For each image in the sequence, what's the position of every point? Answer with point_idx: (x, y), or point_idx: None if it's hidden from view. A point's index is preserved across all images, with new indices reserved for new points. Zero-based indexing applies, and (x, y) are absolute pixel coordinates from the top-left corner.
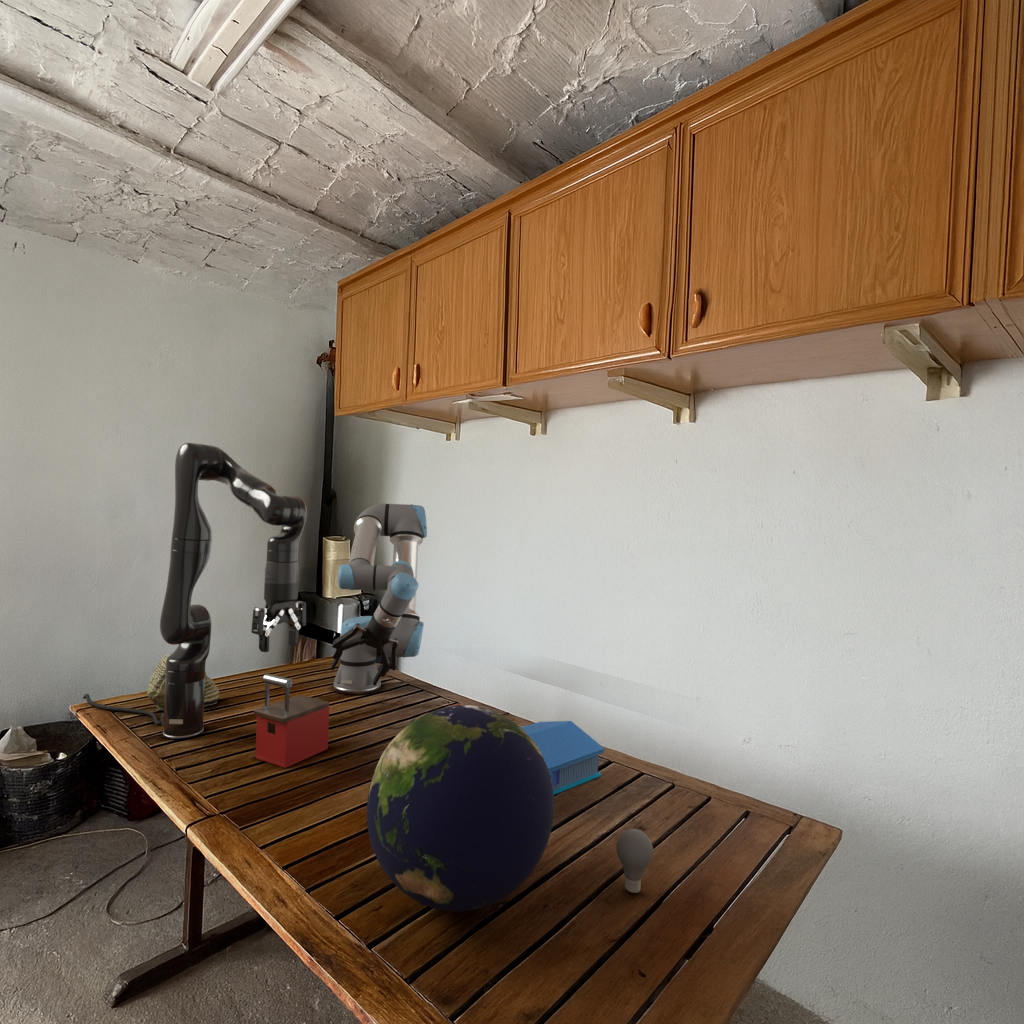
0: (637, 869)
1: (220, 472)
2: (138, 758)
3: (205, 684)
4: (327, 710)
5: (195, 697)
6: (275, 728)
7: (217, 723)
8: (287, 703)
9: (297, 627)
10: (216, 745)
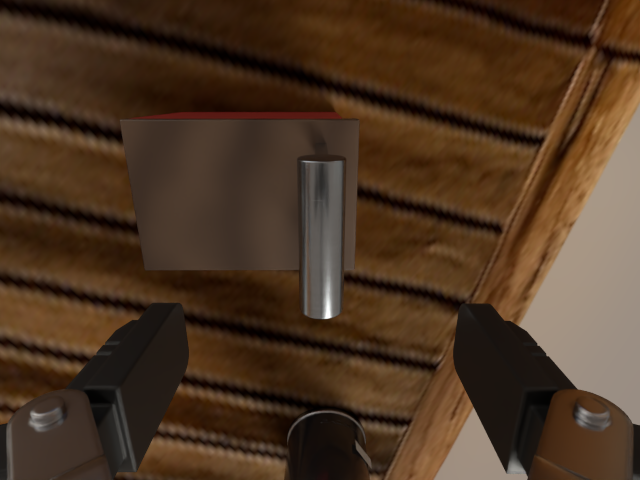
0: None
1: None
2: (457, 399)
3: None
4: (143, 117)
5: None
6: None
7: (248, 431)
8: (324, 147)
9: (71, 412)
10: (331, 342)
